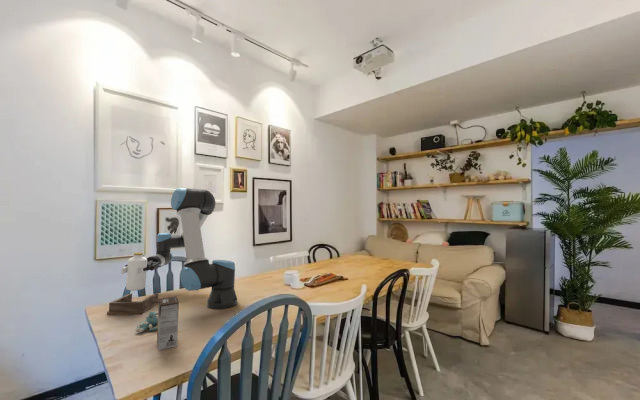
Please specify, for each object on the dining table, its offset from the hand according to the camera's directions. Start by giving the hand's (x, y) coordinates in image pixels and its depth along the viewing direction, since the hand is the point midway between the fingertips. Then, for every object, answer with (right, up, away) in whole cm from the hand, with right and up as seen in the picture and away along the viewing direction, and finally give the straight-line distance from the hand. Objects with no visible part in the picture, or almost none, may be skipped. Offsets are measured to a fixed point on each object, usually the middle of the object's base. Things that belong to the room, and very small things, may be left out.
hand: (130, 270), depth 138 cm
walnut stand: (-1, -20, +4) cm, 20 cm away
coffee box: (+35, -19, -32) cm, 52 cm away
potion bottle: (0, -10, +5) cm, 11 cm away
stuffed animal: (+21, -20, -19) cm, 35 cm away
